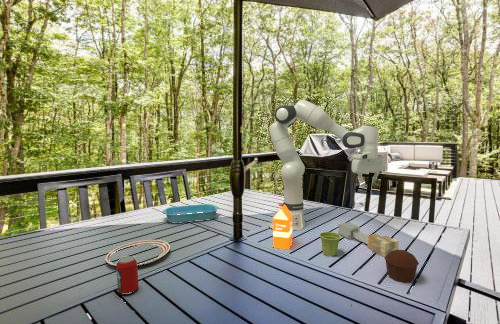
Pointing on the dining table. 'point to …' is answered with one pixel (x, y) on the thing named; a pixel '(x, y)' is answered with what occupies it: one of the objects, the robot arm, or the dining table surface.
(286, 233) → the orange juice
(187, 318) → the dining table surface
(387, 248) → the socket block
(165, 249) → the beige round ring
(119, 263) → the beverage can
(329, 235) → the plant pot
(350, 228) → the outer sleeve
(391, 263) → the muffin
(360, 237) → the tube
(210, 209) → the casserole dish
